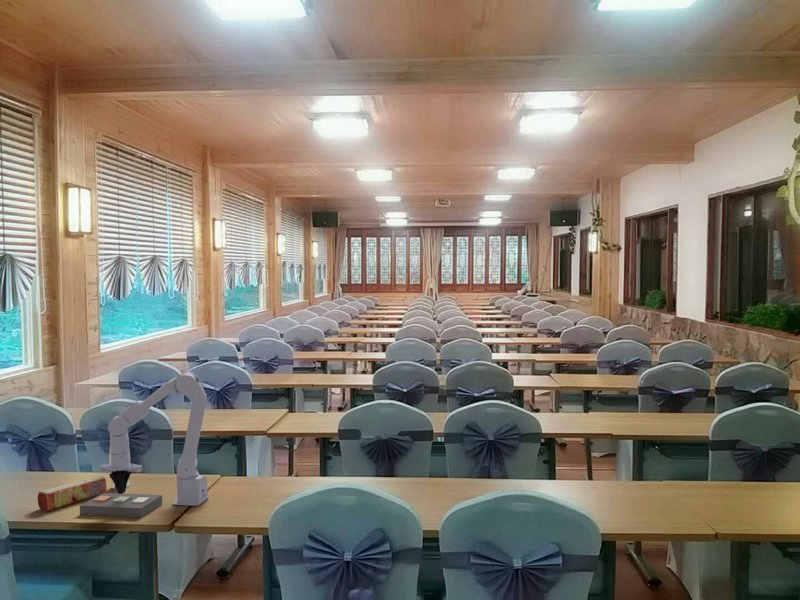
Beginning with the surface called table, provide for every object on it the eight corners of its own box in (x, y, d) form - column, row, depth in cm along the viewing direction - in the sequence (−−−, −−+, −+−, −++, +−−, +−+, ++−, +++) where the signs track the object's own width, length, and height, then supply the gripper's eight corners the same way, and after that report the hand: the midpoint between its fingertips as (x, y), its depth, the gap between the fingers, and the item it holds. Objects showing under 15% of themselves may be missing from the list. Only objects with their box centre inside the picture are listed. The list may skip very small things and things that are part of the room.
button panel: (162, 503, 203) (162, 495, 203) (141, 517, 191) (141, 508, 191) (104, 501, 207) (103, 492, 207) (79, 514, 195) (79, 505, 195)
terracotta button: (112, 504, 202) (111, 496, 202) (104, 509, 198) (104, 500, 198) (101, 504, 203) (101, 495, 202) (93, 508, 199) (93, 499, 198)
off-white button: (150, 506, 199) (149, 497, 199) (143, 511, 196) (142, 501, 195) (139, 506, 200) (138, 497, 200) (131, 510, 196) (131, 501, 196)
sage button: (131, 505, 201) (130, 496, 201) (123, 510, 197) (123, 501, 197) (120, 505, 201) (119, 496, 201) (112, 509, 197) (112, 500, 197)
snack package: (98, 491, 218) (97, 472, 218) (108, 494, 215) (107, 475, 215) (36, 510, 201) (36, 490, 201) (46, 513, 197) (45, 493, 197)
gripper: (92, 455, 196) (94, 496, 196) (132, 456, 193) (134, 497, 194) (106, 449, 203) (107, 489, 203) (145, 450, 200) (146, 490, 201)
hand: (121, 492), depth 199 cm, fingers closed
